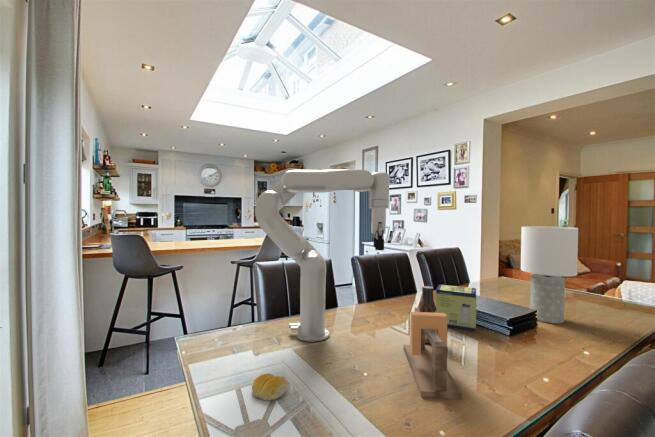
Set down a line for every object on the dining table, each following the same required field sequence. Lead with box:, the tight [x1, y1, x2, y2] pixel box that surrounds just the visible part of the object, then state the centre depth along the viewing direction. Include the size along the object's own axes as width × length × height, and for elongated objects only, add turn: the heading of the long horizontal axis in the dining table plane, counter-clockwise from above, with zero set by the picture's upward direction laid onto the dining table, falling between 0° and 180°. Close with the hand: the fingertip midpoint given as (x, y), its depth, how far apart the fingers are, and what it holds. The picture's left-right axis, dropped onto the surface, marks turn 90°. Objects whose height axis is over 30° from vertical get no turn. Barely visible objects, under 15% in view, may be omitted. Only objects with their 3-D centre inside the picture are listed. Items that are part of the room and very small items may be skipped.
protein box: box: [435, 284, 477, 333], centre depth 130 cm, size 10×16×16 cm
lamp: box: [520, 225, 579, 325], centre depth 138 cm, size 21×21×42 cm
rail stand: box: [403, 329, 462, 400], centre depth 92 cm, size 10×28×13 cm, turn 175°
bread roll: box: [251, 372, 288, 401], centre depth 81 cm, size 8×9×4 cm
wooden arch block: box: [409, 311, 448, 356], centre depth 92 cm, size 10×3×12 cm, turn 86°
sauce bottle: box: [418, 285, 437, 344], centre depth 114 cm, size 7×6×20 cm
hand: (378, 248), depth 120 cm, fingers open, 9 cm apart
